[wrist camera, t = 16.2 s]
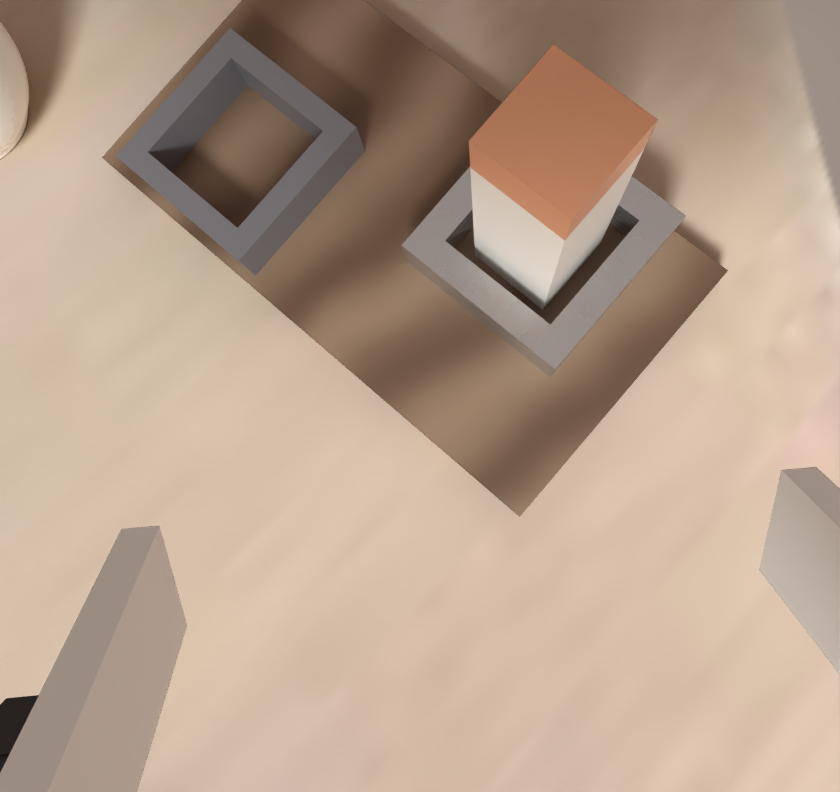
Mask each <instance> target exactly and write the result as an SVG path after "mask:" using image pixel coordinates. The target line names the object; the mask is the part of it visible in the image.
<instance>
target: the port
mask: <svg viewBox="0 0 840 792" xmlns="http://www.w3.org/2000/svg"><path fill="white" fill-rule="evenodd" d="M684 217H685V215H684V214H683V213H681V212H680V211H679V210H677V209H676V208H675V207H673V206H672V205H671V204H669V203H668V202H666V201H665V200H664V199H662V198H661V197H660V196H658V195H657V194H656V193H654V192H653V191H652V190H650V189H649V188H647V187H646V186H645V185H643V184H642V183H641V182H639V181H638V180H637V179H635V178H634V177H632V176H631V179H630V181H629V183H628V185H627V187H626V189H625V191H624V193H623V196H622V198H621V200H620V202H619V204H618V206H617V208H616V211H615V213H614V215H613V217H612V219H611V221H610V223H609V225H611V226H612V227H613V228H615V229H616V230H617V231H619V232H620V233H621V234H622V235H624V236H625V238H624V239H623V240H622V242H621V243H620V244H619V245H618V246H617V247H616V249H615V250H614V251H613V252H612V253H611V255H610V256H609V257H608V258H607V259H606V260H605V262H604V263H603V264H602V265H601V266H600V267H599V269H598V270H597V271H596V272H595V273H594V274H593V276H592V277H591V278H590V279H589V280H588V281H587V283H586V284H585V285H584V286H583V287H582V288H581V290H580V291H579V292H578V293H577V294H576V295H575V297H574V298H573V299H572V300H571V301H570V303H569V304H568V305H567V306H566V307H565V308H564V310H563V311H562V312H561V313H560V314H559V315H558V317H557V318H556V319H555V320H554V321H553V322H552V324H551V325H550V324H549V323H548V322H546V321H545V320H544V319H543V318H541V317H540V316H539V315H538V314H536V313H535V312H534V311H533V310H531V309H530V308H529V307H528V306H526V305H525V304H524V303H523V302H521V301H520V300H519V299H518V298H516V297H515V296H514V295H513V294H511V293H510V292H509V291H508V290H506V289H505V288H504V287H503V286H501V285H500V284H499V283H498V282H496V281H495V280H494V279H492V278H491V277H490V276H489V275H487V274H486V273H485V272H484V271H482V270H481V269H480V268H479V267H477V266H476V265H475V264H474V263H472V262H471V261H470V260H469V259H467V258H466V257H465V256H464V255H462V254H461V253H460V252H459V251H457V250H456V248H457V247H458V245H459V244H460V243H461V242H462V241H463V240H464V239H465V237H466V236H467V235H468V234H469V233H470V232H471V230H472V229H473V209H472V191H471V172H470V167H469V168H468V169H467V170H466V172H465V173H464V174H463V175H462V176H461V177H460V178H459V180H458V181H457V182H456V183H455V184H454V185H453V187H452V188H451V189H450V190H449V191H448V192H447V193H446V195H445V196H444V197H443V198H442V199H441V200H440V202H439V203H438V204H437V205H436V206H435V207H434V208H433V210H432V211H431V212H430V213H429V214H428V215H427V216H426V218H425V219H424V220H423V221H422V222H421V223H420V225H419V226H418V227H417V228H416V229H415V230H414V231H413V233H412V234H411V235H410V236H409V237H408V238H407V240H406V241H405V242H404V243H403V244H402V248H403V251H404V254H405V256H406V259H407V262H408V263H410V264H411V265H412V266H413V267H415V268H416V269H417V270H418V271H419V272H421V273H422V274H423V275H424V276H426V277H427V278H428V279H429V280H431V281H432V282H433V283H434V284H435V285H437V286H438V287H439V288H440V289H442V290H443V291H444V292H445V293H447V294H448V295H449V296H450V297H451V298H453V299H454V300H455V301H456V302H458V303H459V304H460V305H461V306H463V307H464V308H465V309H466V310H467V311H469V312H470V313H471V314H472V315H474V316H475V317H476V318H477V319H479V320H480V321H481V322H482V323H483V324H485V325H486V326H487V327H488V328H490V329H491V330H492V331H493V332H495V333H496V334H497V335H498V336H499V337H501V338H502V339H503V340H504V341H506V342H507V343H508V344H509V345H511V346H512V347H513V348H514V349H515V350H517V351H518V352H519V353H520V354H522V355H523V356H524V357H525V358H527V359H528V360H529V361H530V362H532V363H533V364H534V365H535V366H536V367H538V368H539V369H540V370H541V371H543V372H544V373H545V374H546V375H548V376H549V377H551V376H552V375H553V374H554V372H555V371H556V370H557V369H558V368H559V367H560V365H561V364H562V363H563V362H564V361H565V360H566V358H567V357H568V356H569V355H570V354H571V353H572V351H573V350H574V349H575V348H576V347H577V345H578V344H579V343H580V342H581V341H582V340H583V338H584V337H585V336H586V335H587V334H588V333H589V331H590V330H591V329H592V328H593V327H594V325H595V324H596V323H597V322H598V321H599V320H600V318H601V317H602V316H603V315H604V314H605V313H606V311H607V310H608V309H609V308H610V307H611V306H612V304H613V303H614V302H615V301H616V300H617V298H618V297H619V296H620V295H621V294H622V293H623V291H624V290H625V289H626V288H627V287H628V286H629V284H630V283H631V282H632V281H633V280H634V279H635V277H636V276H637V275H638V274H639V273H640V271H641V270H642V269H643V268H644V267H645V266H646V264H647V263H648V262H649V261H650V260H651V259H652V257H653V256H654V255H655V254H656V253H657V251H658V250H659V249H660V248H661V247H662V246H663V244H664V243H665V242H666V241H667V240H668V239H669V237H670V236H671V235H672V234H673V232H674V231H675V230H676V228H677V227H678V226H679V224H680V223H681V222H682V220H683V219H684Z"/></svg>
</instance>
